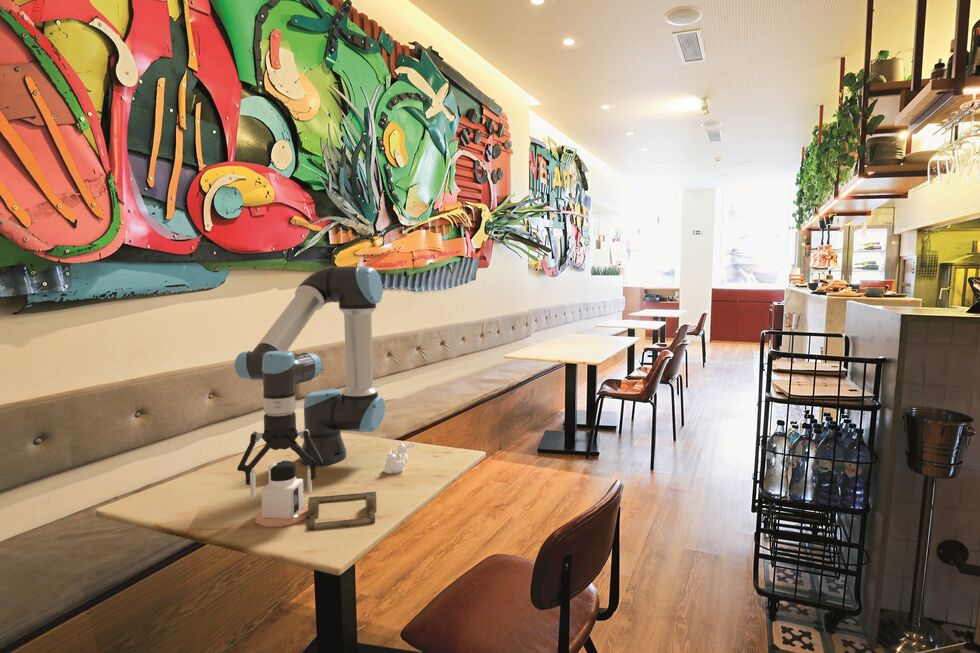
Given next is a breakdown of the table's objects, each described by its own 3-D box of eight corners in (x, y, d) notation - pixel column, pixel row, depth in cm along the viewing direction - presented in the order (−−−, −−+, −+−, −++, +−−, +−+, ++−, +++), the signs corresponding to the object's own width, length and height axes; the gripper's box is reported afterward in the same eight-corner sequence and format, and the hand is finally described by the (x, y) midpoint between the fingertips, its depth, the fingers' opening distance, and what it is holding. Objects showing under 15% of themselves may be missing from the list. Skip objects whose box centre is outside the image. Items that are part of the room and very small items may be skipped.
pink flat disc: (259, 507, 147) (259, 505, 147) (310, 503, 150) (310, 501, 150) (250, 529, 134) (250, 527, 134) (307, 524, 137) (307, 522, 137)
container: (304, 506, 146) (303, 458, 145) (291, 519, 139) (290, 469, 138) (276, 505, 147) (274, 457, 146) (261, 518, 139) (260, 467, 138)
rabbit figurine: (404, 463, 183) (404, 434, 182) (422, 467, 179) (422, 438, 178) (378, 473, 173) (377, 443, 172) (396, 479, 169) (395, 448, 168)
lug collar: (311, 501, 151) (310, 487, 151) (374, 496, 155) (374, 482, 155) (306, 530, 134) (305, 514, 134) (377, 523, 138) (377, 507, 138)
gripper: (222, 419, 133) (225, 504, 135) (330, 413, 139) (332, 495, 141) (229, 411, 140) (232, 492, 142) (331, 406, 146) (333, 484, 148)
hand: (281, 494), depth 142 cm, fingers open, 13 cm apart
